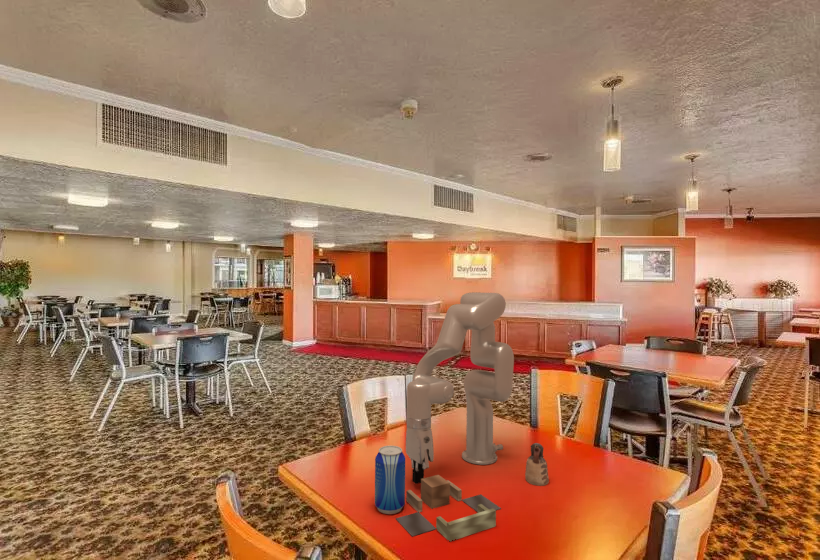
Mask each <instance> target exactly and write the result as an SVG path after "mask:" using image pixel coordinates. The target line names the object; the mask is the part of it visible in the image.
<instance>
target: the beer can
mask: <svg viewBox="0 0 820 560" xmlns="http://www.w3.org/2000/svg"><path fill="white" fill-rule="evenodd" d="M374 463H375V464H374V506H375V507H376V508H377V511H379V512H380V513H382V514H386V515H394V514H397V513H400V512H401V511H402V509H403V507H404V506H405V504H406V456H405V454H404V453H403V449H402V447H400V446H397V445H384V446H382V447H380V448H378V452H377V454H376V456H375V459H374Z"/></svg>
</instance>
